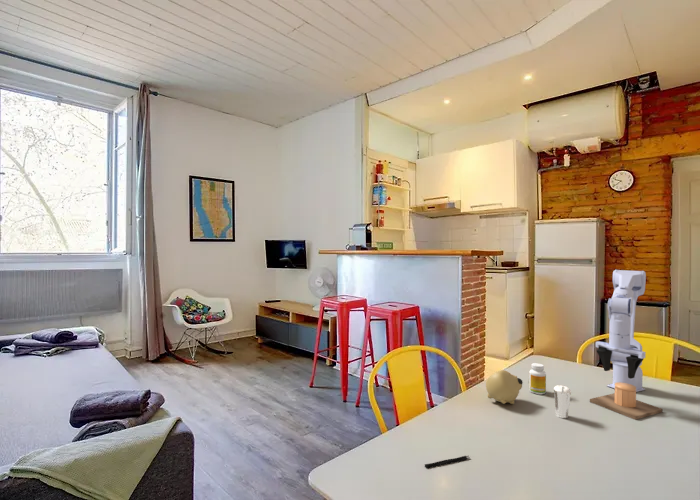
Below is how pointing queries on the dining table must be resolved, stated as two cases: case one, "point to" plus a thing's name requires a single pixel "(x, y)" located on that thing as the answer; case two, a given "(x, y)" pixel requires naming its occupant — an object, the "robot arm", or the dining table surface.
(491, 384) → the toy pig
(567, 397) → the milkshake
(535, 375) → the supplement bottle
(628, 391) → the wire nut cap
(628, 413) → the post block
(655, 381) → the dining table surface
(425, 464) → the black stick
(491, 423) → the dining table surface
